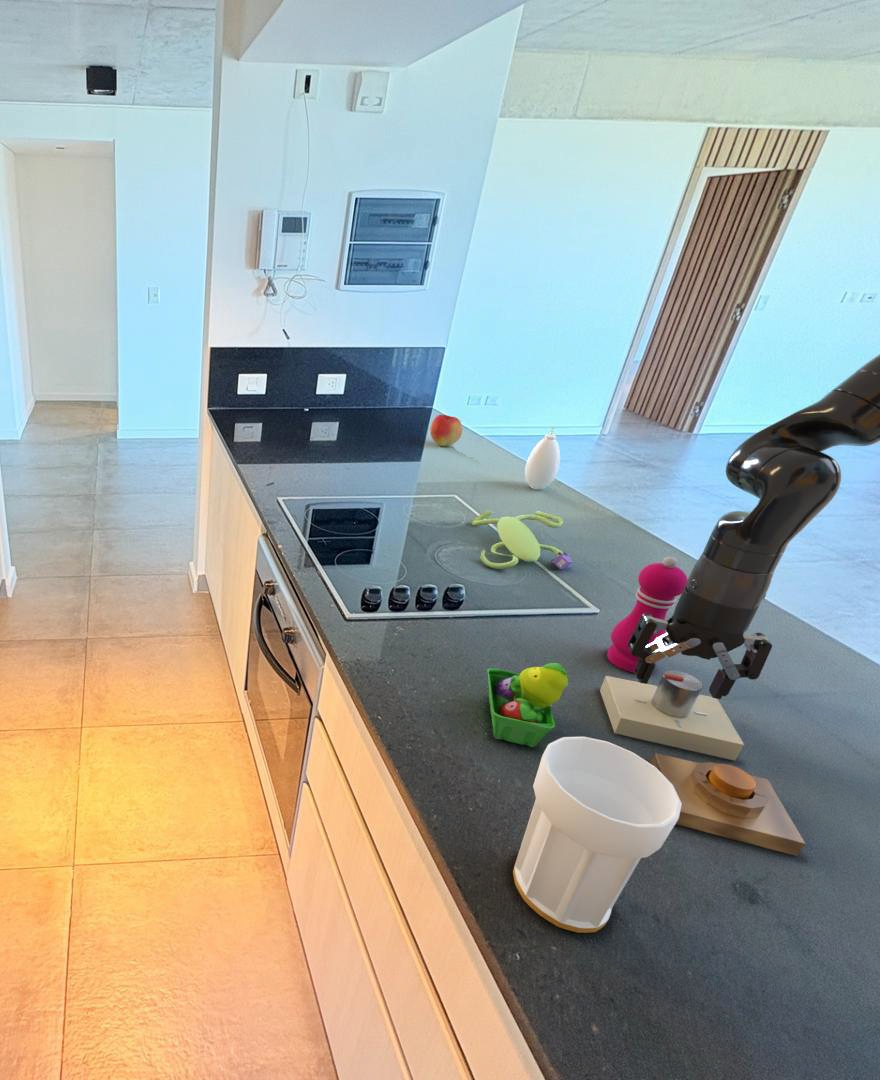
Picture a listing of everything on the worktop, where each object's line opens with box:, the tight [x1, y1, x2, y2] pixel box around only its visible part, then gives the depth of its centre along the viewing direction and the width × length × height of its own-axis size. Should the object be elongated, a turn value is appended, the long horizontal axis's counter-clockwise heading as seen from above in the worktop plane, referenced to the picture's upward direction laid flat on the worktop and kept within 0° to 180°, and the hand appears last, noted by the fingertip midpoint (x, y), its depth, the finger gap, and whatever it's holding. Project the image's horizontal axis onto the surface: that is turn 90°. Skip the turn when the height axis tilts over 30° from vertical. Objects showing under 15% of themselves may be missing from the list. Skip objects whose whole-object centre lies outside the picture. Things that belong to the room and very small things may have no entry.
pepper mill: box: [606, 556, 689, 674], centre depth 98 cm, size 7×7×20 cm
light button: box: [708, 763, 756, 800], centre depth 75 cm, size 4×4×2 cm
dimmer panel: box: [599, 675, 745, 762], centre depth 89 cm, size 14×10×3 cm
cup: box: [512, 736, 682, 934], centre depth 64 cm, size 11×11×17 cm
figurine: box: [471, 510, 573, 570], centre depth 139 cm, size 18×27×6 cm
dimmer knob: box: [652, 669, 703, 718], centre depth 88 cm, size 4×4×5 cm
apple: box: [429, 414, 463, 447], centre depth 205 cm, size 10×10×10 cm
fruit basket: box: [486, 662, 569, 748], centre depth 88 cm, size 11×9×11 cm
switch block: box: [649, 752, 806, 857], centre depth 76 cm, size 12×10×4 cm
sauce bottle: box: [524, 425, 561, 491], centre depth 168 cm, size 8×8×18 cm
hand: (676, 687), depth 87 cm, fingers open, 8 cm apart
